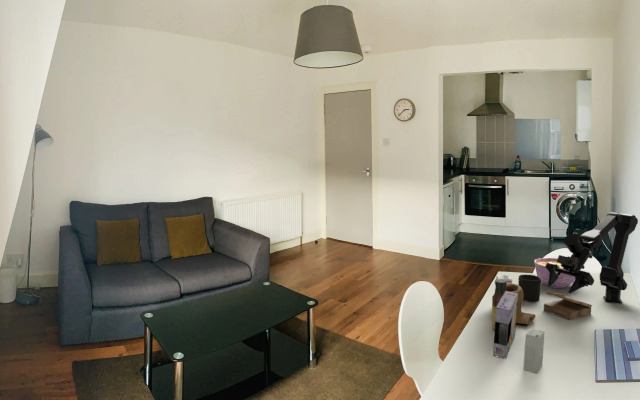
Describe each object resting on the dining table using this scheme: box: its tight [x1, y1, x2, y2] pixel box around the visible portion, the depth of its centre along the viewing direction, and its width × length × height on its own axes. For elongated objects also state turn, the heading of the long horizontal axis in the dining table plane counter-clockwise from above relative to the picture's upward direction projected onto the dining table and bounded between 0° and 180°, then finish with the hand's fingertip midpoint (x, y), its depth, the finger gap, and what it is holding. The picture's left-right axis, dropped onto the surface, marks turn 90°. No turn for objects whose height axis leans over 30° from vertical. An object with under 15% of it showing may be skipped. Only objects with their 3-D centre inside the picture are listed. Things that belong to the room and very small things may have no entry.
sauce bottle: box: [491, 279, 507, 332], centre depth 169 cm, size 6×6×20 cm
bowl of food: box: [533, 257, 575, 289], centre depth 221 cm, size 20×20×12 cm
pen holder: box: [517, 274, 542, 303], centre depth 204 cm, size 9×9×10 cm
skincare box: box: [523, 328, 545, 374], centre depth 141 cm, size 6×4×12 cm
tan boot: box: [506, 283, 536, 325], centre depth 178 cm, size 15×12×15 cm
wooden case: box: [543, 298, 592, 321], centre depth 187 cm, size 13×12×3 cm
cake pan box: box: [492, 291, 518, 359], centre depth 155 cm, size 19×5×18 cm, turn 148°
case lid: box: [545, 290, 593, 308], centre depth 187 cm, size 13×12×2 cm
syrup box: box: [495, 274, 513, 284], centre depth 191 cm, size 6×6×14 cm
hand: (558, 289), depth 183 cm, fingers open, 9 cm apart
